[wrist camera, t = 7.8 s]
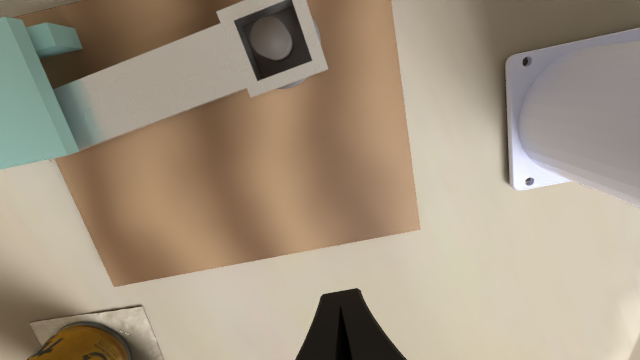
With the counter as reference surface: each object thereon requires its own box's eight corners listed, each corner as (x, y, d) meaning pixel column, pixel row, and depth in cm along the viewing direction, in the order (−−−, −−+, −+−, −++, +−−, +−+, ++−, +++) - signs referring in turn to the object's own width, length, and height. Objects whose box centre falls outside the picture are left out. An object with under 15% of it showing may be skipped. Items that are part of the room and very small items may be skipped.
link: (301, -12, 16) (299, -22, 14) (327, 70, 17) (328, 68, 15) (36, 93, 17) (8, 94, 16) (76, 162, 18) (54, 169, 17)
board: (377, -62, 17) (397, -112, 12) (414, 221, 21) (439, 257, 17) (13, 26, 18) (-85, 9, 13) (124, 276, 22) (78, 323, 18)
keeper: (89, 29, 18) (16, 13, 13) (130, 136, 20) (77, 153, 15) (-10, 53, 18) (-113, 45, 14) (39, 156, 20) (-39, 177, 16)
